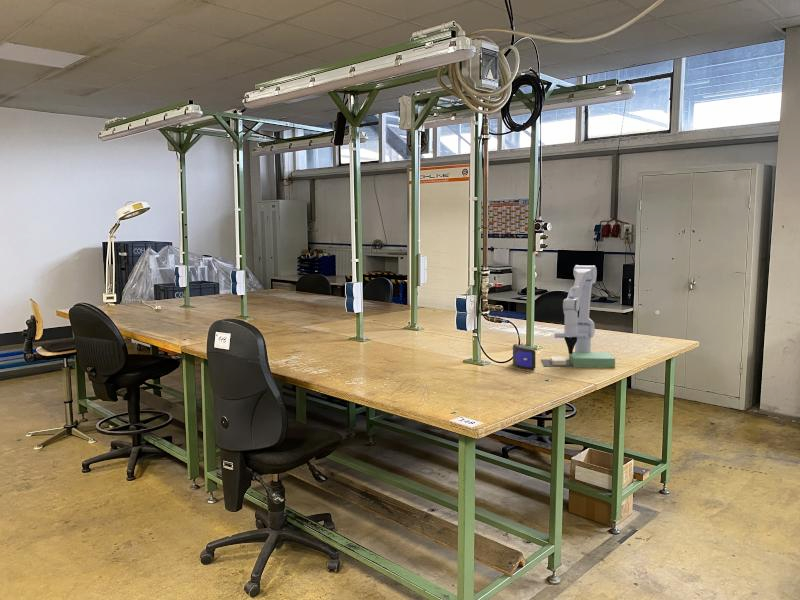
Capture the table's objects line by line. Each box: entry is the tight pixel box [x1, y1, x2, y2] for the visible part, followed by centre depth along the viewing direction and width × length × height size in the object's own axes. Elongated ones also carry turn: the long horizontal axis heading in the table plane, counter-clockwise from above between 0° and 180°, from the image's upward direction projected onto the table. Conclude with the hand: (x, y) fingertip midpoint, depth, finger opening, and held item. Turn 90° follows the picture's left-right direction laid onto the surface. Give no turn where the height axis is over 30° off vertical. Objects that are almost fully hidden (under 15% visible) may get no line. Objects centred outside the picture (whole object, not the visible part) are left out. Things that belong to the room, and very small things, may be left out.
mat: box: [540, 358, 574, 368], centre depth 283 cm, size 14×13×1 cm
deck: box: [568, 351, 616, 368], centre depth 281 cm, size 14×18×4 cm
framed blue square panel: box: [512, 343, 536, 371], centre depth 277 cm, size 16×5×9 cm, turn 23°
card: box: [549, 356, 567, 365], centre depth 283 cm, size 9×6×2 cm, turn 173°
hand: (570, 353), depth 282 cm, fingers closed
